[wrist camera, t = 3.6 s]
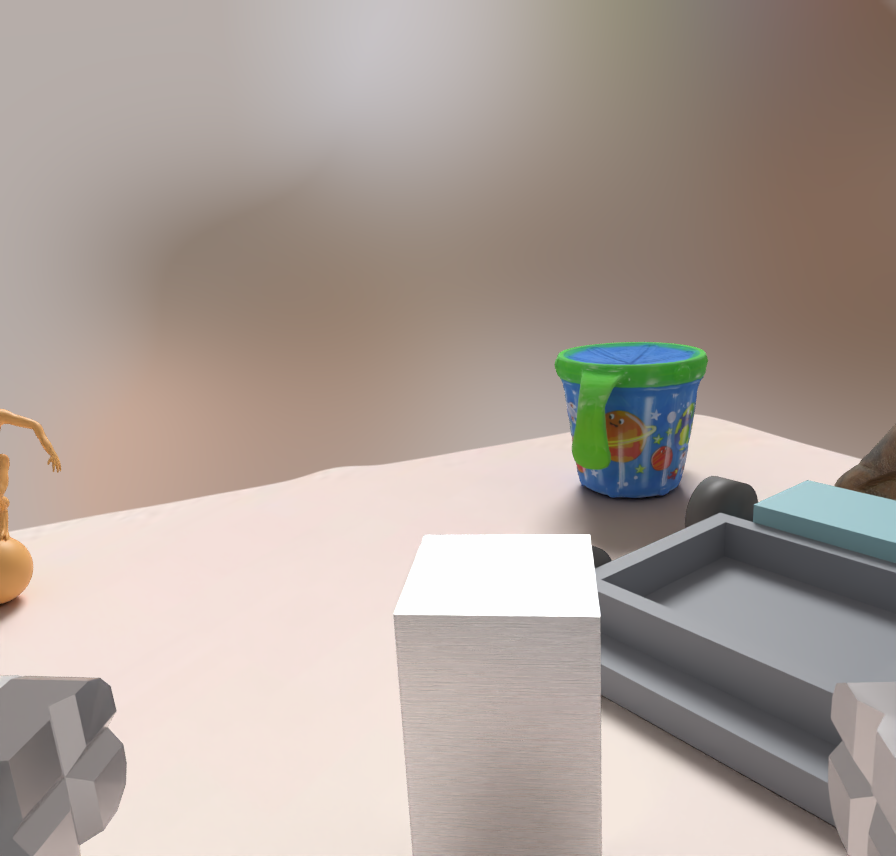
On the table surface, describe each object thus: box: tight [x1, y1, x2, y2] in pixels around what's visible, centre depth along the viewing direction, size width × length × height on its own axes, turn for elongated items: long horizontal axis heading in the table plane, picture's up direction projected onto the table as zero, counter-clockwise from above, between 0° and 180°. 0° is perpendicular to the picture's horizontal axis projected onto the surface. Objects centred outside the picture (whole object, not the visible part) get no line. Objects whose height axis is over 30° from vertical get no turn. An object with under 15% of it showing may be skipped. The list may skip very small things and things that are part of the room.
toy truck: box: [591, 476, 896, 827], centre depth 37 cm, size 20×19×4 cm
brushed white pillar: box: [394, 534, 602, 856], centre depth 23 cm, size 5×5×11 cm
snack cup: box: [555, 342, 708, 498], centre depth 59 cm, size 16×10×10 cm
